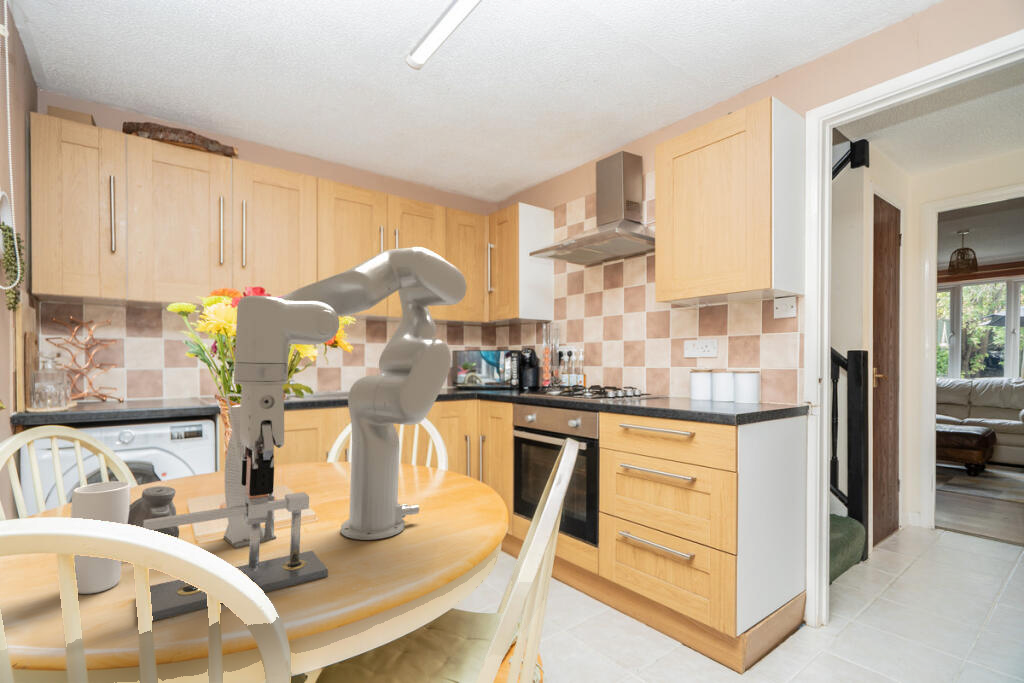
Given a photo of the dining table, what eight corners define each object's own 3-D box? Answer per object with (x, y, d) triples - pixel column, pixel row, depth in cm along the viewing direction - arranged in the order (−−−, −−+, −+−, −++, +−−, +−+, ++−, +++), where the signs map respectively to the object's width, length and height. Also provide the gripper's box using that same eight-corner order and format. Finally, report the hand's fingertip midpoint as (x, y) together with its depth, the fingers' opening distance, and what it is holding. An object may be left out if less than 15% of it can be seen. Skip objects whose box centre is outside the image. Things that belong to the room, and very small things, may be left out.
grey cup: (137, 577, 75) (141, 481, 76) (101, 598, 69) (107, 493, 69) (93, 576, 75) (98, 480, 76) (53, 598, 68) (59, 492, 69)
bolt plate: (311, 557, 84) (312, 549, 84) (327, 576, 77) (327, 567, 77) (139, 596, 70) (139, 586, 70) (139, 624, 62) (139, 614, 62)
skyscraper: (227, 550, 86) (234, 395, 87) (213, 538, 92) (219, 392, 92) (275, 538, 92) (281, 393, 93) (259, 527, 98) (265, 390, 99)
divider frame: (301, 559, 80) (304, 491, 81) (306, 566, 78) (309, 496, 78) (139, 596, 67) (143, 515, 68) (139, 605, 65) (143, 521, 65)
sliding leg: (260, 564, 77) (264, 453, 77) (265, 572, 74) (269, 457, 75) (242, 568, 75) (246, 455, 76) (246, 577, 72) (251, 459, 73)
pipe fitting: (118, 537, 90) (128, 484, 90) (170, 531, 95) (179, 480, 95) (125, 566, 81) (136, 506, 81) (182, 557, 87) (191, 501, 87)
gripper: (301, 377, 71) (296, 499, 71) (275, 372, 85) (271, 474, 84) (244, 377, 67) (238, 507, 66) (226, 372, 80) (221, 480, 80)
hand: (256, 488), depth 75 cm, fingers open, 6 cm apart
